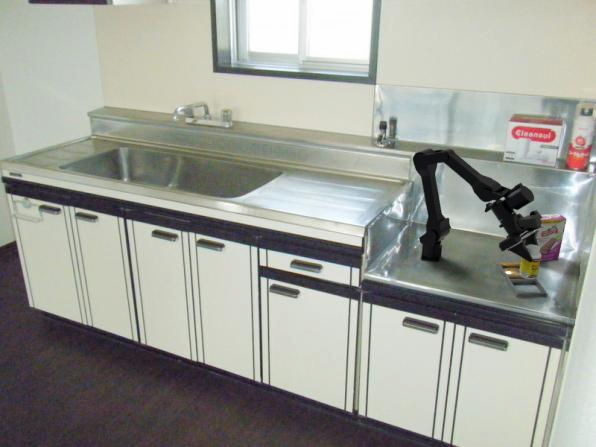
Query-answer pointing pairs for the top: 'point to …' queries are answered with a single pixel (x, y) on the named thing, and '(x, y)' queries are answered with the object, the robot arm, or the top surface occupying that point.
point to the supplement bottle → (531, 263)
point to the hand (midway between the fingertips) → (535, 258)
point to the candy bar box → (550, 236)
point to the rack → (519, 280)
